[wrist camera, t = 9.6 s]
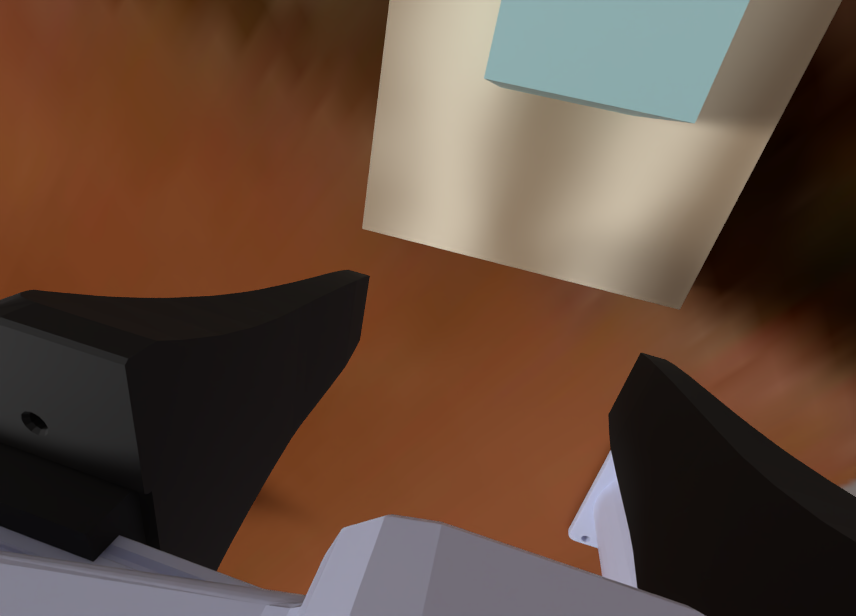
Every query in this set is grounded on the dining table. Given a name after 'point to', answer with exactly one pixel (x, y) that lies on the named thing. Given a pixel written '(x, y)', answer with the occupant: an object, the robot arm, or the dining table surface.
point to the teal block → (615, 52)
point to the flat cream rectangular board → (571, 153)
